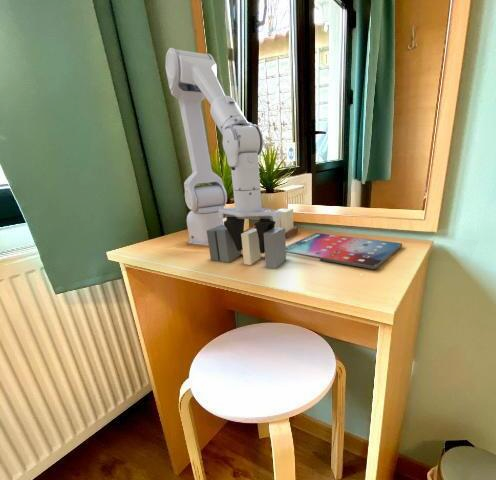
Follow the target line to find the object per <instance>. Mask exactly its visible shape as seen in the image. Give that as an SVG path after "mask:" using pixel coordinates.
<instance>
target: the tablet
mask: <svg viewBox="0 0 496 480" xmlns="http://www.w3.org/2000/svg"><path fill="white" fill-rule="evenodd" d="M402 247H403V243H401V242H396V241H388V240H379V239H370V238H363V237H355V236H354V237H353V236H346V235H340V234H339V235H338V234H329V233H323V232H322V233H321V232H315V233H313V234H310V235H308V236H306V237H304V238H302V239H299V240H298V241H295V242H293V243H291V244H288V245H286V254H293V255H298V256H304V257H309V258H314V259H319V260H320V261H325V262H331V263H336V264H342V265H348V266H354V267H360V268H363V269H369V270H376V269H378V268H379V267H380V266H382V265H383V264H384V263H385V262H386V261H387V260H388V259H389V258H391V257H392V256H393V255H394V254H395V253H396V252H397V251H399V250H400V249H401V248H402Z"/></svg>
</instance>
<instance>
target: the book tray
mask: <svg viewBox="0 0 496 480" xmlns="http://www.w3.org/2000/svg"><path fill="white" fill-rule="evenodd" d="M293 227H294V228H293V229H291V230H289V231H288V232H286V233H285V240H287V239H289V238H291V237H292V236H293V235H295V234H297V233H298V232H299V226H296V225H295V226H294V225H293ZM273 228H275V226H274V227H273ZM250 229H256V227H255V225H254V226H252V227H250V228H247V229H245V232H246V231H248V230H250Z"/></svg>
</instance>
